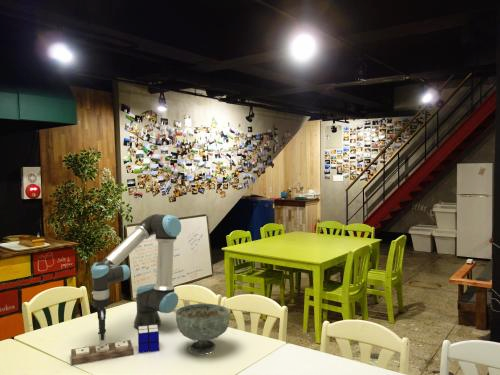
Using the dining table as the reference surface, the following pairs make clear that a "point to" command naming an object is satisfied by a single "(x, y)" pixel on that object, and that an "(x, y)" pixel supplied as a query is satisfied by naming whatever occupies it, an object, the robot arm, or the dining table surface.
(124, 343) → the tile two
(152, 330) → the puzzle cube
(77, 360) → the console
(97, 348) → the tile three
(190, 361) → the dining table surface
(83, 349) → the tile one
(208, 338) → the decorative bowl
